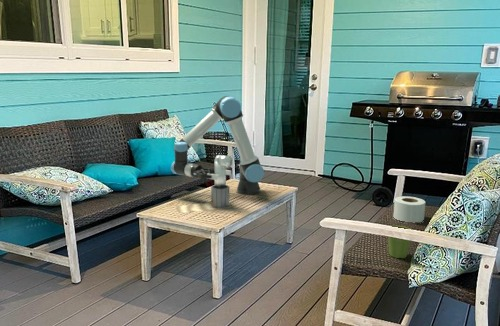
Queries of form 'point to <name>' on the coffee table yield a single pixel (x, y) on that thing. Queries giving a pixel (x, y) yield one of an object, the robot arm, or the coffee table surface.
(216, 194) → the grey wooden bucket
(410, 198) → the toilet paper roll
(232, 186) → the coffee table surface
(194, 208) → the birch board
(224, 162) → the polished capsule rod
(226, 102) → the robot arm
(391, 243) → the plant pot
